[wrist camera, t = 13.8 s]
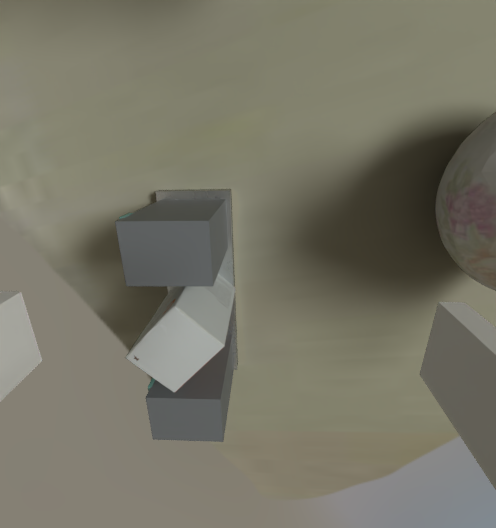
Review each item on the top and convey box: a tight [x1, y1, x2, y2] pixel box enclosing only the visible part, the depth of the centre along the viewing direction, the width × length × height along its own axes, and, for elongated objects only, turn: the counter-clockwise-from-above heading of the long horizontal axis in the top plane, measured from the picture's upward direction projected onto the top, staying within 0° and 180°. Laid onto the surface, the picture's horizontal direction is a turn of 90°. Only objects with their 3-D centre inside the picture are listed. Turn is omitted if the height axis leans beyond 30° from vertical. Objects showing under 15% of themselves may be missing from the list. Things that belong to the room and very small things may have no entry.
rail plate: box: [156, 189, 238, 370], centre depth 42 cm, size 26×9×2 cm, turn 1°
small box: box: [126, 274, 236, 392], centre depth 35 cm, size 8×6×13 cm
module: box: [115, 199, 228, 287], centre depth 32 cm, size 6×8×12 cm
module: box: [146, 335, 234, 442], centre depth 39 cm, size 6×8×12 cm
